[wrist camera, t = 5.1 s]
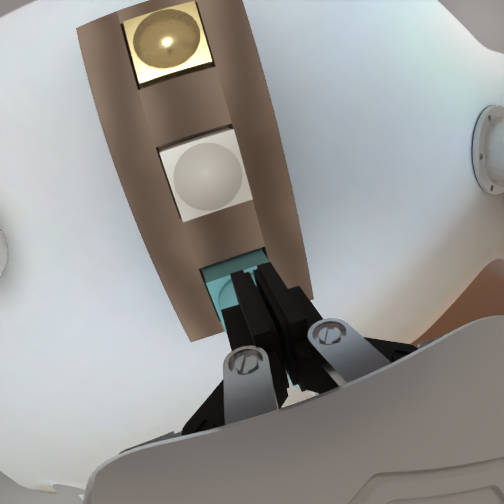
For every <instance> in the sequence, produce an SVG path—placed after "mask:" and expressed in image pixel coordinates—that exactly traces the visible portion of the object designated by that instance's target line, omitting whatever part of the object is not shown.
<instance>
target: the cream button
mask: <svg viewBox="0 0 504 504" xmlns="http://www.w3.org/2000/svg"><path fill="white" fill-rule="evenodd" d="M160 156H161V159H162V162H163V165H164V168H165V171H166V174H167V177H168V180H169V183H170V186H171V189H172V192H173V195H174V198H175V201H176V204H177V207H178V209H179V212H180V215H181V218H182V221H183V222H186V221H189V220H192V219H195V218H197V217H200V216H203V215H206V214H209V213H212V212H215V211H218V210H221V209H224V208H227V207H230V206H234V205H237V204H240V203H243V202H246V201H249V200H252V199H253V198H252V194H251V190H250V186H249V183H248V179H247V175H246V172H245V168H244V164H243V161H242V157H241V153H240V150H239V146H238V142H237V139H236V135H235V131H234V129H229V128H226V129H222V130H219V131H215V132H212V133H209V134H205V135H202V136H199V137H196V138H193V139H189V140H186V141H183V142H180V143H177V144H174V145H171V146H169V147H166V148H163V149H161V151H160Z"/></svg>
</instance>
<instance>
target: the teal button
mask: <svg viewBox="0 0 504 504" xmlns="http://www.w3.org/2000/svg"><path fill="white" fill-rule="evenodd" d="M267 262H269V260H268V259H267V257H266V256H265V254H264V252H263V251H262V249H261V248H259V249H256V250H253V251H250V252H247V253H244V254H241V255H238V256H235V257H232V258H229V259H226V260H224V261H221V262H218V263H215V264H212V265H209V266H206V267H203V272H204V277H205V281H206V285H207V287H208V290H209V292H210V295H211V297H212V300H213V303H214V305H215V308H216V310H217V312H218V315H219V317H220V320H221V322H222V325H223V327H224V330H225V332H227V331H226V328H225V324H224V320H223V316H222V312H221V310H222V309H225V308H228V307H232V306H235V305H238V301H237V297H236V294H235V291H234V287H233V284H232V280H231V277H230V273H233V272H237V271H240V270H243V271H244V273H246V272H250V275H251V277H252V279H253V281H254V283H255V285H256V282H255V278H254V274H253V270H256V269H257V265H260V264H263V263H267Z"/></svg>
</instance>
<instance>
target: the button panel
mask: <svg viewBox="0 0 504 504" xmlns="http://www.w3.org/2000/svg"><path fill="white" fill-rule="evenodd" d="M192 1H195V4H196V7H197V10H198V14H199V17H200V21H201V24H202V28H203V31H204V34H205V38H206V41H207V45H208V48H209V52H210V55H211V59H212V63H211V64H210V66H209V68H208V69H204V70H200V71H197V72H193V73H190V74H186V75H183V76H179V77H176V78H173V79H170V80H167V81H164V82H160V83H157V84H155V85H152V86H149V87H146V88H143V87H142V86H141V84H140V83H139V80H138V76H137V73H136V69H135V66H134V62H133V58H132V55H131V51H130V47H129V43H128V39H127V36H126V32H125V28H124V24H123V22H124V21H127V20H130V19H132V18H135V17H138V16H141V15H144V14H148V13H151V12H154V11H157V10H161V9H164V8H168V7H172V6H176V5H179V4H183V3H188V2H192ZM76 30H77V35H78V39H79V44H80V48H81V52H82V57H83V61H84V65H85V69H86V73H87V77H88V80H89V84H90V88H91V91H92V95H93V99H94V102H95V105H96V109H97V112H98V116H99V119H100V122H101V125H102V129H103V132H104V135H105V138H106V141H107V144H108V147H109V150H110V153H111V156H112V159H113V162H114V165H115V168H116V171H117V173H118V176H119V179H120V182H121V184H122V187H123V190H124V193H125V195H126V198H127V200H128V203H129V206H130V208H131V211H132V213H133V216H134V218H135V221H136V223H137V226H138V228H139V231H140V233H141V236H142V238H143V241H144V243H145V245H146V248H147V250H148V252H149V255H150V257H151V259H152V262H153V264H154V266H155V268H156V271H157V273H158V275H159V277H160V280H161V282H162V284H163V286H164V288H165V291H166V293H167V295H168V297H169V299H170V301H171V303H172V305H173V308H174V310H175V312H176V314H177V316H178V318H179V320H180V322H181V324H182V326H183V328H184V330H185V332H186V334H187V336H188V338H189V340H190V342H193V341H197V340H200V339H203V338H206V337H209V336H212V335H215V334H218V333H221V332H224V331H225V330H224V327H223V325H222V322H221V320H220V317H219V315H218V312H217V310H216V308H215V305H214V303H213V300H212V297H211V295H210V292H209V290H208V287H207V285H206V281H205V277H204V272H203V267H206V266H209V265H212V264H215V263H218V262H221V261H224V260H226V259H229V258H232V257H235V256H238V255H241V254H244V253H247V252H250V251H253V250H256V249H259V248H261V249H262V251H263V252H264V254H265V256H266V257H267V259H268V260H269V262H271V263H272V265H273V267H274V268H275V270H276V271H277V273H278V274H279V276H280V277H281V279H282V280H283V282H284V283H285V285H286V287H287V288H288V289H289V288H292V287H295V286H300V287H301V289H302V290H303V292H304V293H305V294H306V296H307V297H308V299H309V300H313V299H314V298H313V292H312V286H311V281H310V275H309V270H308V264H307V259H306V254H305V249H304V244H303V239H302V234H301V229H300V224H299V219H298V214H297V209H296V205H295V200H294V195H293V191H292V186H291V182H290V177H289V173H288V168H287V164H286V160H285V155H284V151H283V147H282V143H281V139H280V135H279V130H278V126H277V122H276V118H275V114H274V110H273V107H272V103H271V99H270V95H269V91H268V87H267V84H266V80H265V76H264V73H263V69H262V65H261V62H260V58H259V55H258V51H257V48H256V44H255V41H254V37H253V34H252V31H251V27H250V24H249V21H248V17H247V14H246V11H245V8H244V4H243V1H242V0H149V1H146V2H143V3H139V4H136V5H133V6H130V7H128V8H125V9H122V10H119V11H116V12H114V13H111V14H109V15H106V16H104V17H101V18H99V19H96V20H94V21H92V22H89V23H87V24H85V25H82V26H80V27H78V28H76ZM226 128H229V129H234V131H235V135H236V139H237V142H238V146H239V150H240V153H241V157H242V161H243V164H244V168H245V172H246V175H247V179H248V183H249V186H250V190H251V194H252V198H253V199H252V200H249V201H246V202H243V203H240V204H237V205H234V206H230V207H227V208H224V209H221V210H218V211H215V212H212V213H209V214H206V215H203V216H200V217H197V218H195V219H192V220H189V221H186V222H183V221H182V218H181V215H180V212H179V209H178V207H177V204H176V201H175V198H174V195H173V192H172V189H171V186H170V183H169V180H168V177H167V174H166V171H165V168H164V165H163V162H162V159H161V156H160V151H161V149H163V148H166V147H169V146H171V145H174V144H177V143H180V142H183V141H186V140H189V139H193V138H196V137H199V136H202V135H205V134H209V133H212V132H215V131H219V130H222V129H226Z"/></svg>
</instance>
